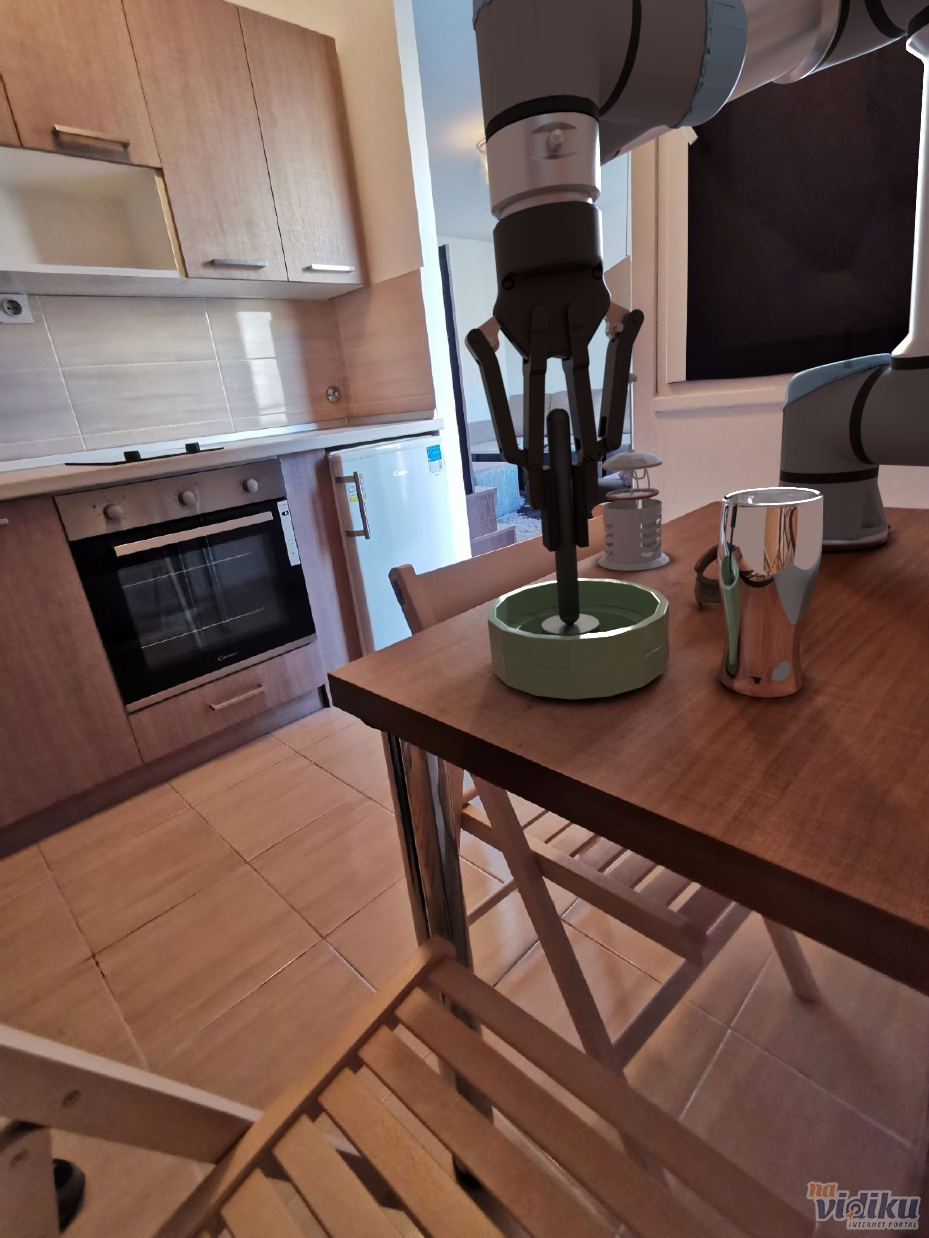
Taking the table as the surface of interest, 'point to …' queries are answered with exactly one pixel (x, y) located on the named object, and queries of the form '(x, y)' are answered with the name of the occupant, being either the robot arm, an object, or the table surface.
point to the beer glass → (767, 585)
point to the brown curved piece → (706, 580)
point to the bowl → (580, 640)
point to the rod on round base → (565, 534)
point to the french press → (633, 514)
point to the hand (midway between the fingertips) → (565, 545)
